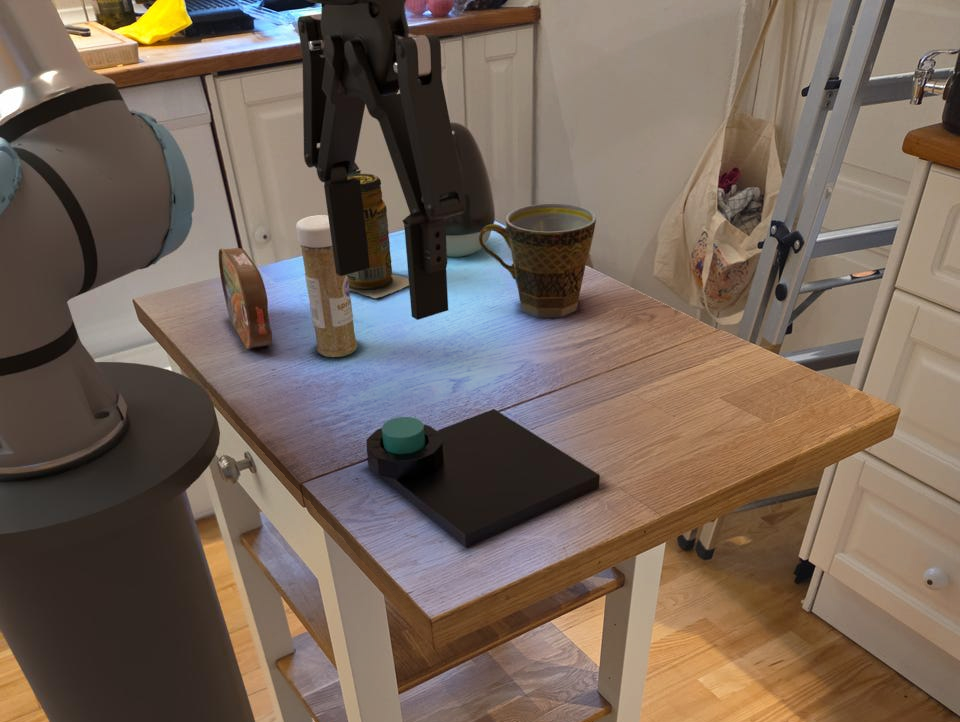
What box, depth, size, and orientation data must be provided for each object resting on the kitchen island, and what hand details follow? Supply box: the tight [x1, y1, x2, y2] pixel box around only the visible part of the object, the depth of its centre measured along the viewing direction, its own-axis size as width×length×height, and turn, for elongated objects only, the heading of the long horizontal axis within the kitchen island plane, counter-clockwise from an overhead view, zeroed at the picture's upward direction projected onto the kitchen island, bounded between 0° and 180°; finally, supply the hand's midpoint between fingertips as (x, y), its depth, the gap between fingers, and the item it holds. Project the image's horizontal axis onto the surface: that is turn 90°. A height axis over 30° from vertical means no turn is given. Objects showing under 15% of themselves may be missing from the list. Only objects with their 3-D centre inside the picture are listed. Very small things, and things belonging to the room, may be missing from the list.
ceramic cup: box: [479, 203, 597, 319], centre depth 100 cm, size 13×10×10 cm
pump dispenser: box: [422, 121, 496, 258], centre depth 113 cm, size 10×10×15 cm
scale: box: [365, 408, 601, 548], centre depth 76 cm, size 16×15×3 cm
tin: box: [218, 247, 273, 350], centre depth 98 cm, size 15×3×8 cm, turn 23°
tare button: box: [381, 416, 425, 454], centre depth 75 cm, size 4×4×2 cm
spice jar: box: [295, 214, 358, 358], centre depth 92 cm, size 5×5×14 cm
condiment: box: [347, 173, 409, 299], centre depth 106 cm, size 7×8×12 cm
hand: (389, 291), depth 67 cm, fingers open, 10 cm apart
